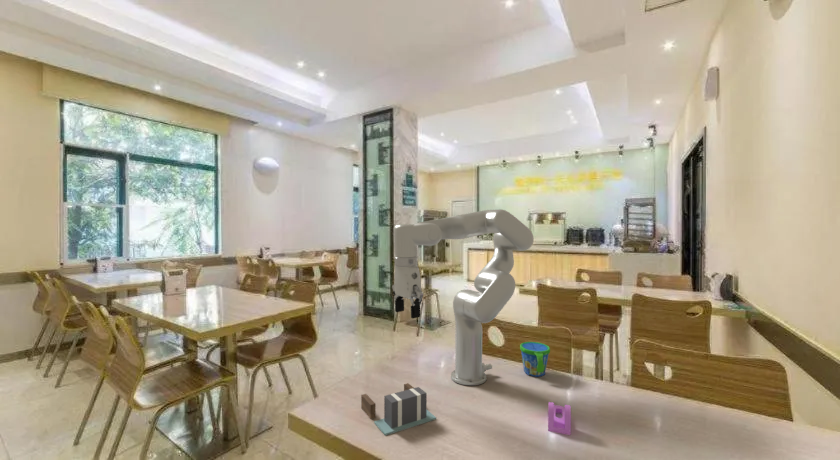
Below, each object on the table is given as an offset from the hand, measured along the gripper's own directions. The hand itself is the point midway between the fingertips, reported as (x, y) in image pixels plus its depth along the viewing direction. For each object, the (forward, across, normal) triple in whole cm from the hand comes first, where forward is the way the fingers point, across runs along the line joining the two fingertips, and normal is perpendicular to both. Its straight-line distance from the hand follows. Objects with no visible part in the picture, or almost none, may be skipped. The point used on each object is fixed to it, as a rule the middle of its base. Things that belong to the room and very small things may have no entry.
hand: (407, 314), depth 120 cm
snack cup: (+28, -13, -47) cm, 56 cm away
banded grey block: (+25, -14, +10) cm, 31 cm away
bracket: (+27, -38, -26) cm, 53 cm away
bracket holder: (+25, -5, +10) cm, 28 cm away
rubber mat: (+25, -14, +10) cm, 31 cm away
